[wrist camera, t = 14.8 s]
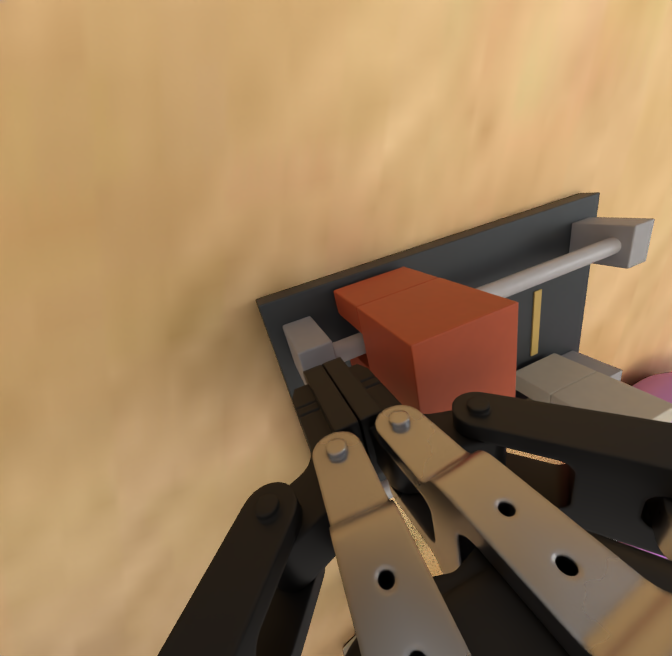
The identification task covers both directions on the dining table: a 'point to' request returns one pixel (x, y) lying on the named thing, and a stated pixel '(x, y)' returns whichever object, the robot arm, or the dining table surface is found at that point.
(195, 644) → the robot arm
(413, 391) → the terracotta marker
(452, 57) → the dining table surface
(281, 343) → the score rack
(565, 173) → the dining table surface
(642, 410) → the ivory marker
